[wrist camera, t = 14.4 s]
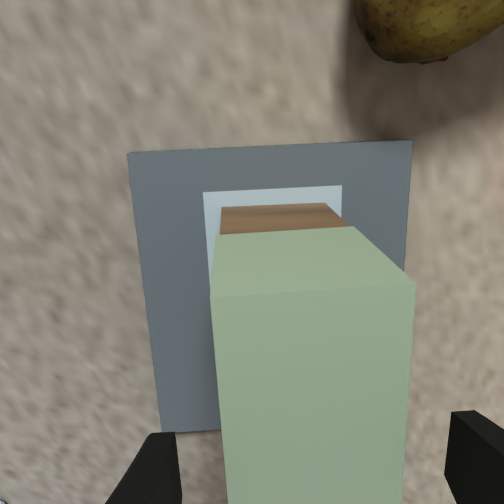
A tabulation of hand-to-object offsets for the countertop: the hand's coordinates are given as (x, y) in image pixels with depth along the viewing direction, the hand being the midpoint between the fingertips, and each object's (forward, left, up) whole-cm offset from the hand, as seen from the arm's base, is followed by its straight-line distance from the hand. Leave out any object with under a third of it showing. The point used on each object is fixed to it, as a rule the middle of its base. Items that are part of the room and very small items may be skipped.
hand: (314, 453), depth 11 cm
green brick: (0, 0, -5) cm, 5 cm away
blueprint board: (0, 0, -10) cm, 10 cm away
